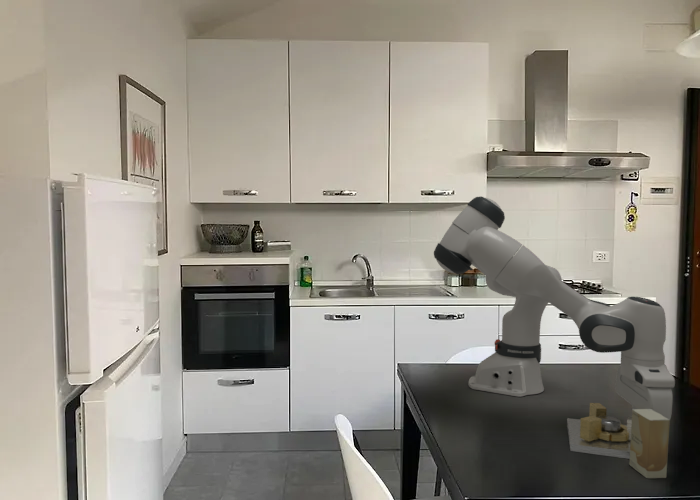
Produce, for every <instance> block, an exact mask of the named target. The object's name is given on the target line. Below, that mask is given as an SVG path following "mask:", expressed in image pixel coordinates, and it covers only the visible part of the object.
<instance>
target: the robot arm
mask: <svg viewBox="0 0 700 500" xmlns="http://www.w3.org/2000/svg"><path fill="white" fill-rule="evenodd" d="M505 218H506V217H505V212H504V211H503V210H502V208H501V206H500V205H499V204H498V203H497V202H496V201H494V200H493V199H491V198H488V197H484V196H475V197H473V198H472V199H471V200H470V201H469V202H468V203H467V206H466V207H465V208H464V209H463V210H461V212H460V213H459V214H458V215H457V216H456V217H455V219H454V220H453V221H452V223H451V225H450V226H449V227H448V229H447V230H446V232H445V233H444V235H443V236H442V238H441V240H440V242H438V243H437V245H436V246H435V248H434V251H433V258H434V259H436V262H437V263H438V266H440V268H442V269H443V270H444V271H446V272H449V273H451V274H455V275H462V274H463V275H464V274H466V272H468V271H473V270H474V268H476V270H478V271H480V273H482V274H483V275H484V276H485V283H486V286H487V287H488V288H489V290H491V291H493V292H495V293H497V294H499V295H502V296H508V297H512V298H513V297H514V298H515V300H514V304H513V307H512V308H511V310H508V311H507V312H506V313H505V314H503V316H502V321H501V322H502V324H501V326H502V327H501V339H495V341H494V353H492V354H491V355H489V356H487V357H486V358H484V359H483V360H481V361H480V363H479V364H478V366H477V367H476V372H475V375H472V376H471V377H469V380H468V384H467V385H468V387H469V388H470V389H472V390H475V391H476V390H477V391H483V392H488V393H495V394H500V395H505V396H513V397H519V398H520V397H524V396H529V395H537V394H541V393H543V392H544V391H545V388H544V385H543V384H544V383H543V379H542V373H541V365H540V363H541V361H542V344H541V343H540V339H541V338H540V337H541V336H540V335H541V324H542V323H541V322H542V317H543V314H544V311H545V309H546V308H547V306H548V304H551V305H552V306H553V307H555V308H556V309H557V310H559V311H561V312H562V313H563V314H565V315H566V316H567V317H569V318H570V319H571V320H572V321H573V322H574V324H575V325H576V327H577V328H578V334H579V338H580V341H581V342H582V344H583V345H584V346H585V347H586V348H587V349H588V350H591V351H592V352H596V353H602V354H603V353H604V354H605V353H619V352H620V365H619V366H618V367H617V371H616V377H615V386H614V388H615V392H616V394H617V395H618V396H619V397H621V398H622V399H623V400H624V401H625V402H626V403H628V404H629V405H630V406H631V410H632V409H652V410H653V411H655V412H657V413H659V414H661V415H662V416H664V417H666V418H667V419H669V420H670V421H671V418H672V412H673V391H672V389H671V388H675V384H676V379H675V377H674V376H673V375H672V373H671V372H670V370H669V369H668V367H667V365H666V361H665V360H666V359H665V357H666V356H665V355H666V354H665V352H664V345H665V342H666V340H667V339H666V335H667V334H666V333H667V324H666V323H667V320H666V313H665V309H664V308H663V306H662V305H661V304H660V303H658V302H656V301H655V300H652V299H650V298H646V297H642V296H641V297H639V296H628V297H627V298H625V299H624V300H622V301H619V302H618V303H615V304H613V305H611V304H608V303H605V302H601V301H598V300H594V299H590V298H587V297H586V296H584V295H583V294H581V293H580V292H578V291H577V290H575V289H574V288H572V286H571V285H570V286H569V285H568V284H567V283H565V282H564V281H563V280H562V275H561V273H560V272H559V270H558V269H556V268H555V267H553V266H550V265H546V264H545V262H543V261H542V260H541V259H540V258H539V256H537V255H536V254H535V253H534V252H532V250H530V249H529V248H528V247H526V246H525V245H524V244H522V243H521V242H520V241H518V240H516V239H515V238H513V237H512V236H510V235H508V234H506V233H504V232H502V231H500V230H499V229H501V228H502V225H503V223H504V221H505ZM471 266H474V268H473V267H471Z"/></svg>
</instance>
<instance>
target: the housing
mask: <svg viewBox="0 0 700 500" xmlns="http://www.w3.org/2000/svg"><path fill="white" fill-rule="evenodd" d="M598 418H600V419H602V423H601V431H604V432H608V433H620V424H621V423H622V422H621V420H620V419H619V418H617V417H616V416H615V417H614V416H610V415H606V416H598ZM580 423H581V419H577V418H569V417H567V419H566V427H567V428H566V429H567V434H568V441H569V442H568V443H569V449H570V452H577V453H583V454H589V455H590V454H591V455H599V456H606V457H611V458H612V457H614V458H620V459H628V460H630V445H631V440H630V439H629V440H628V441H607V440H603V439H597V440H593V441H587V440H584V439H582V438H580ZM624 425H625V426H626V427H627V424H624Z"/></svg>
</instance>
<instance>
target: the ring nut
mask: <svg viewBox="0 0 700 500" xmlns="http://www.w3.org/2000/svg"><path fill="white" fill-rule="evenodd" d="M588 415H589V416H585V417H581V418H580V420H581V423H580V438H582V439H584V440H587V441H593V440H597V439H603V440H607V441H628V440H629V439H630V440H631V427H632V416H628V417H627V420H626V424H622V423H620V433H608V432H604V431H601V423H602V419H600V418H598V416H607V407H605V406H604V405H603V404H601V403H600V402H589V414H588ZM625 425H627V427H626V426H625Z"/></svg>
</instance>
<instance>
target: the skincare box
mask: <svg viewBox="0 0 700 500" xmlns="http://www.w3.org/2000/svg"><path fill="white" fill-rule="evenodd" d="M631 411H632V415H631V417H632V427H631V445H630V459H629V465H630V467H631V468H633V469H634V470H635V471H636V472H638V473H639V474H641V475H642V476H643V477H644V478H646V479H666V478H667V471H668V470H667V468H668V455H669V454H668V453H669V440H670V438H669V436H670V421H671V419H670V420H669V419H667V418H666V417H664V416H662V415H661V414H659V413H657V412H655V411H653V410H652V409H632V408H631Z"/></svg>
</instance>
